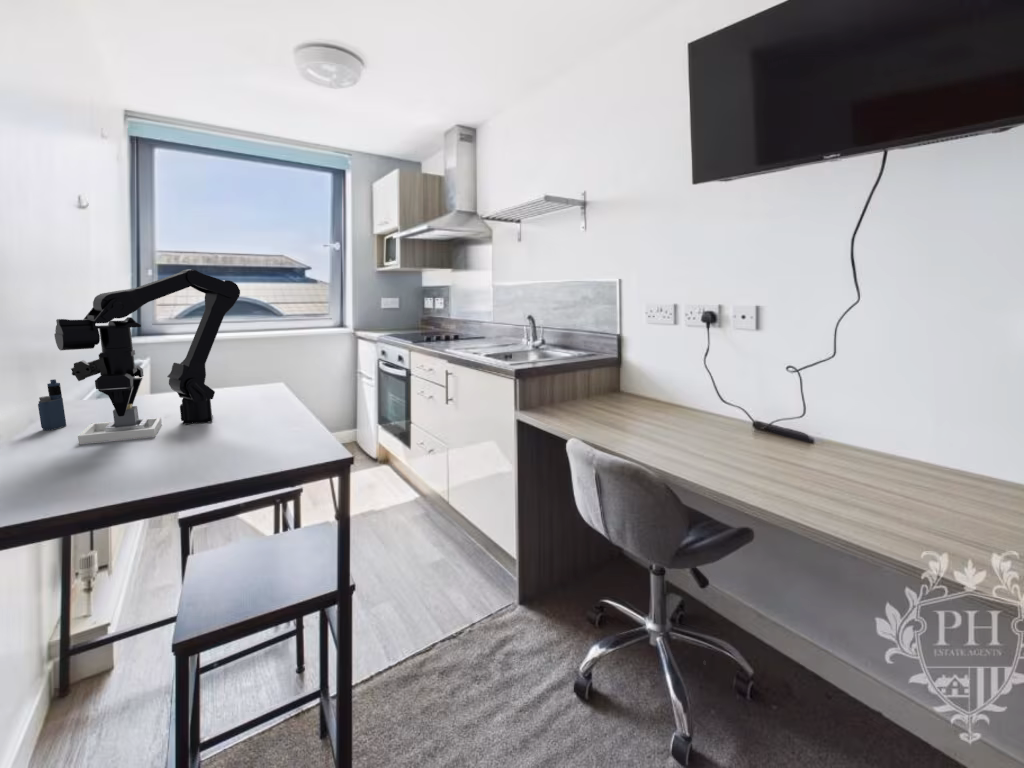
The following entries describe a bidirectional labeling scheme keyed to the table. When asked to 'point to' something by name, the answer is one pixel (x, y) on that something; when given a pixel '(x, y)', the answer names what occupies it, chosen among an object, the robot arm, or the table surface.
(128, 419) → the block
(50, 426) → the vaping device
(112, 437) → the walled tray
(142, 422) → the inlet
